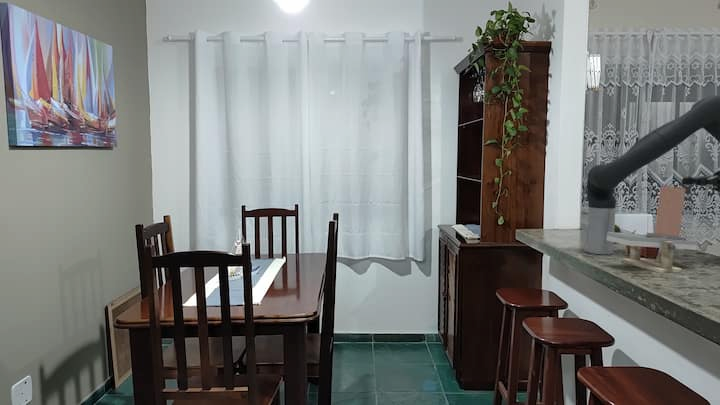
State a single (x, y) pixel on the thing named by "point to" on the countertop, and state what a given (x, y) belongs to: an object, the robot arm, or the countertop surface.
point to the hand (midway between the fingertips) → (689, 181)
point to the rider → (669, 214)
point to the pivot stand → (652, 265)
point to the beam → (648, 241)
